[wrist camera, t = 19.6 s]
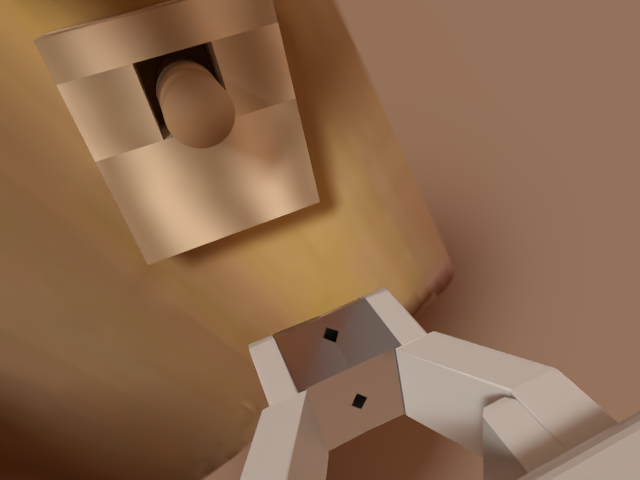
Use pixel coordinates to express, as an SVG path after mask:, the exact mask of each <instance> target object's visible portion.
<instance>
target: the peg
mask: <svg viewBox="0 0 640 480" xmlns="http://www.w3.org/2000/svg"><path fill="white" fill-rule="evenodd" d="M156 81H157V84H156V95H157V99H158V102H159V104H160V106H161V110H162V113H163V117H164V120H165V123H166V126H167V128H168V130H169V131H170V133H171V134H172V135H173V137H174V138H175V139H177V140H178V141H179V142H180V143H182V144H184V145H186V146H189V147H192V148H198V149H203V148H209V147H213V146H215V145H217V144H219V143H221V142H222V141H223V140H224V139H225V138H226V137H227V136H228V135H229V134H230V132H231V130H232V128H233V125H234V122H235V107H234V103H233V101H232V99H231V97H230V95H229V94H228V92H227V91H226V90H225V89H224V88H223V87H222V86H221V85H220V83H219V82H218V81H217V80H216V79H215V78H214V76H213V75H212V73H211V72H210V71H209V70H208V69H207V68H205V67H204V66H203V65H201V64H199V63H197V62H195V61H194V60H192V59H191V58H189V57H186V56H173V57H170V58H168V59H166V60H165V61H164V62H163V63H162V64H161V65H160V67H159V69H158V71H157V76H156Z"/></svg>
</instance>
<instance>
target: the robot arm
mask: <svg viewBox="0 0 640 480" xmlns="http://www.w3.org/2000/svg"><path fill="white" fill-rule="evenodd" d="M248 346H249V351H250V354H251V357H252V359H253V362H254V365H255V368H256V370H257V373H258V376H259V379H260V381H261V384H262V387H263V390H264V392H265V395H266V398H267V401H268V403H269V406H270V407H268V408H266V409H263V410H262V413H261V416H260V419H259V422H258V425H257V428H256V431H255V434H254V437H253V440H252V444H251V447H250V450H249V453H248V456H247V459H246V462H245V465H244V468H243V472H242V474H241V478H240V480H326V473H327V465H328V456H329V454H328V451H329V450H331V449H334V448H335V447H337V446H339V445H341V444H343V443H345V442H347V441H349V440H351V439H353V438H354V437H356V436H358V435H360V434H362V433H364V432H365V431H368V430H370V429H372V428H374V427H377V426H379V425H381V424H383V423H385V422H387V421H390V420H392V419H394V418H396V417H398V416H401V415H403V414H405V413H406V415H407V416H409V417H410V418H412V419H414V420H416V421H418V422H419V423H421V424H423V425H425V426H427V427H429V428H430V429H432V430H434V431H436V432H438V433H440V434H441V435H443V436H445V437H447V438H448V439H450V440H452V441H454V442H456V443H458V444H459V445H461V446H463V447H465V448H467V449H468V450H470V451H472V452H474V453H476V454H477V455H480V456H481V457H483V476H484V477H483V480H640V411H639V412H637V413H635V414H633V415H631V416H630V417H628V418H626V419H624V420H622V421H621V422H619V423H618V422H617V421H616V420H614V419H613V418H612V417H611V416H610V415H609V414H607V412H605V411H604V410H603V409H602V408H601V407H600V406H598V405H597V404H596V403H595V402H594V401H593V400H592V399H591V398H589V397H588V396H587V395H586V394H585V393H584V392H583V391H582V390H580V389H579V388H578V387H577V386H576V385H575V384H574V383H572V382H571V381H570V380H569V379H568V378H567V377H565V376H564V375H563V374H562V373H561V372H560V371H559V370H557V369H556V368H553V367H550V366H546V365H543V364H540V363H537V362H533V361H530V360H527V359H524V358H520V357H517V356H514V355H511V354H507V353H504V352H501V351H497V350H494V349H491V348H488V347H485V346H481V345H478V344H475V343H472V342H468V341H465V340H462V339H459V338H455V337H452V336H449V335H445V334H442V333H439V332H435V331H433V332H431V333H429V334H427V333H426V332H425V331H424V329H423V328H422V327H421V326H420V325H419V324H418V323H417V322H416V320H415V319H414V318H413V317H412V316H411V315H410V314H409V313H408V311H407V310H406V309H405V308H404V307H403V306H402V305H401V304H400V303H399V301H398V300H397V299H396V298H395V297H394V296H393V295H392V294H391V293H390V291H389V290H388V289H386V288H384V287H382V288H380V289H378V290H375V291H373V292H371V293H369V294H367V295H364V296H362V298H358V299H356V300H354V301H351V302H349V303H347V304H345V305H342V306H340V307H338V308H335V309H333V310H331V311H329V312H326V313H324V314H322V315H319V316H317V317H315V318H312V319H310V320H307V321H305V322H302V323H300V324H297V325H295V326H292V327H290V328H287V329H285V330H282V331H280V332H277V333H275V334H273V336H269V337H266V338H264V339H261V340H259V341H256V342H254V343H251V344H249V345H248Z"/></svg>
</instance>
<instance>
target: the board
mask: <svg viewBox="0 0 640 480" xmlns="http://www.w3.org/2000/svg"><path fill="white" fill-rule="evenodd" d="M34 42H35V44H36V46H37V48H38V50H39V52H40V54H41V56H42V58H43V60H44V62H45V64H46V66H47V68H48V70H49V72H50V74H51V76H52V78H53V80H54V82H55V83H56V85H57V87H58V89H59V91H60V93H61V95H62V97H63V99H64V101H65V103H66V105H67V107H68V109H69V111H70V113H71V115H72V117H73V119H74V121H75V123H76V125H77V127H78V129H79V131H80V133H81V135H82V137H83V138H84V140H85V142H86V144H87V146H88V148H89V150H90V152H91V154H92V156H93V158H94V160H95V162H96V164H97V166H98V168H99V170H100V172H101V174H102V176H103V178H104V180H105V182H106V184H107V186H108V188H109V190H110V192H111V193H112V195H113V197H114V199H115V201H116V203H117V205H118V207H119V209H120V211H121V213H122V215H123V217H124V219H125V221H126V223H127V225H128V227H129V229H130V231H131V233H132V235H133V237H134V239H135V241H136V243H137V245H138V247H139V249H140V250H141V252H142V254H143V256H144V258H145V260H146V262H147V264H148V265H150V264H152V263H155V262H158V261H161V260H163V259H166V258H169V257H172V256H174V255H177V254H180V253H182V252H185V251H188V250H191V249H193V248H196V247H199V246H202V245H204V244H207V243H210V242H212V241H215V240H218V239H221V238H223V237H226V236H229V235H232V234H234V233H237V232H240V231H242V230H245V229H248V228H251V227H253V226H256V225H259V224H262V223H264V222H267V221H270V220H272V219H275V218H278V217H281V216H283V215H286V214H289V213H292V212H294V211H297V210H300V209H302V208H305V207H308V206H311V205H313V204H316V203H319V202H320V200H319V195H318V191H317V187H316V183H315V178H314V174H313V170H312V166H311V161H310V157H309V153H308V148H307V144H306V140H305V136H304V131H303V127H302V123H301V118H300V114H299V110H298V106H297V101H296V97H295V93H294V89H293V84H292V80H291V76H290V71H289V67H288V63H287V59H286V54H285V50H284V46H283V42H282V37H281V33H280V29H279V24H278V20H277V16H276V12H275V7H274V3H273V0H171V1H167V2H163V3H159V4H155V5H151V6H148V7H144V8H140V9H136V10H132V11H129V12H125V13H121V14H117V15H113V16H109V17H106V18H102V19H98V20H94V21H90V22H86V23H83V24H79V25H75V26H71V27H67V28H63V29H60V30H56V31H52V32H48V33H44V34H42V35H41V36H40V37H38V38H37V39H35V40H34ZM203 43H205V45H206V48H207V51H208V54H209V57H210V61H211V64H212V67H213V70H214V73H215V76H216V79H217V81H218V82H219V83H220V85H221V86H222V87H223V88H224V89H225V90H226V91H227V92H228V94H229V95H230V97H231V99H232V101H233V103H234V107H235V122H234V125H233V128H232V130H231V132H230V134H229V135H228V136H227V137H226V138H225V139H224V140H223V141H222V142H221V143H219V144H217V145H215V146H213V147H209V148H203V149H198V148H192V147H189V146H186V145H184V144H182V143H180V142H179V141H178V140H177V139H175V138H174V137H173V135H172V134H171V133H170V131H169V130H168V128H167V126H166V123H164V124H159V122H158V119H157V117H156V115H155V112H154V110H153V107H152V105H151V102H150V100H149V97H148V95H147V92H146V90H145V88H144V85H143V83H142V80H141V78H140V75H139V73H138V70H137V68H136V66H135V63H136V62H140V61H143V60H147V59H150V58H154V57H157V56H161V55H165V54H168V53H172V52H175V51H179V50H182V49H186V48H189V47H193V46H196V45H200V44H203Z"/></svg>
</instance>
